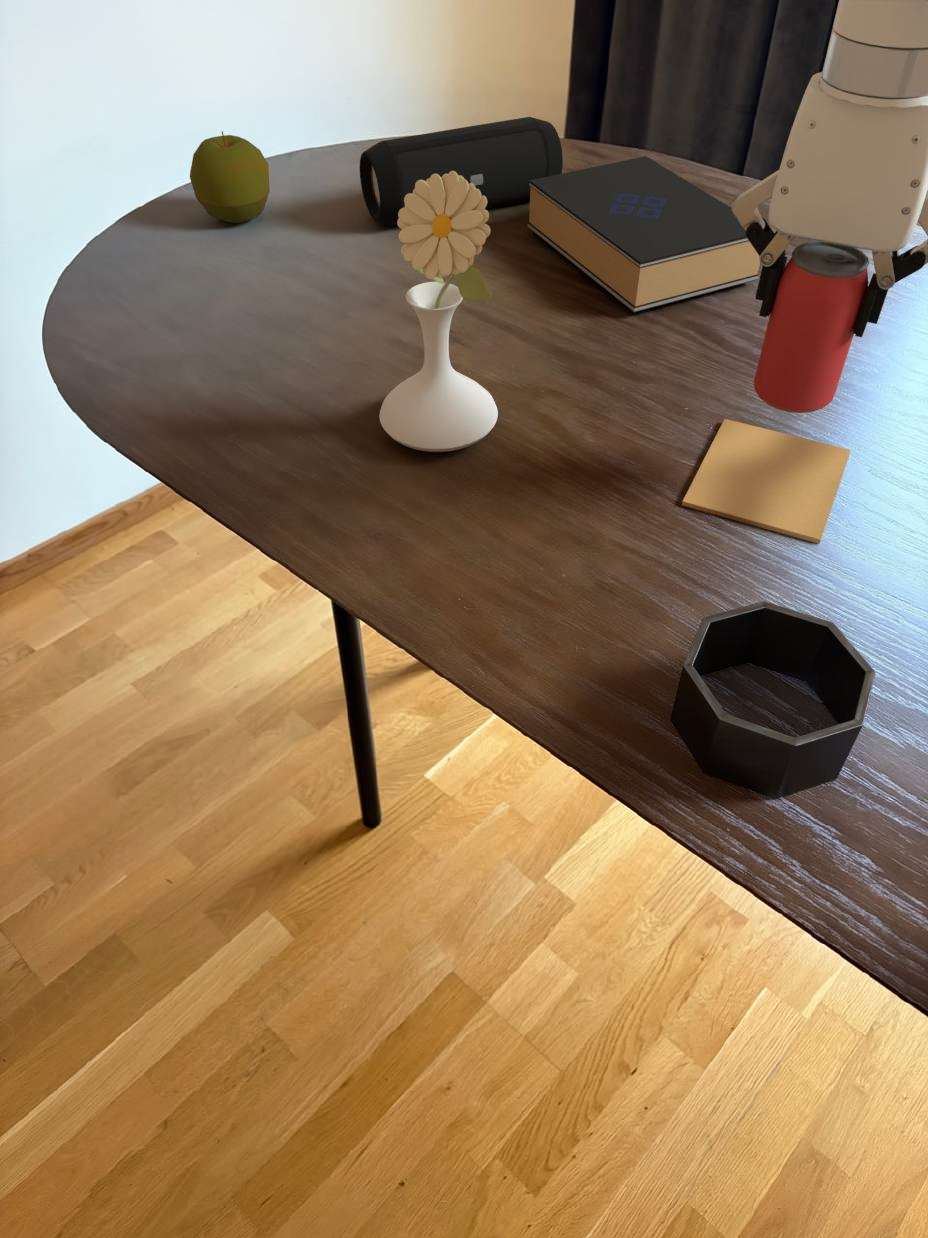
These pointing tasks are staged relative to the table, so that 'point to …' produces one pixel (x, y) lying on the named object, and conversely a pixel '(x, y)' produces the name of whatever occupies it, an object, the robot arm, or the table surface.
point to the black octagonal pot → (787, 650)
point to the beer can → (811, 326)
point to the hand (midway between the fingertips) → (813, 316)
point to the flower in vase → (441, 317)
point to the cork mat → (769, 480)
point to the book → (642, 232)
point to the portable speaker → (461, 163)
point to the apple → (230, 178)
